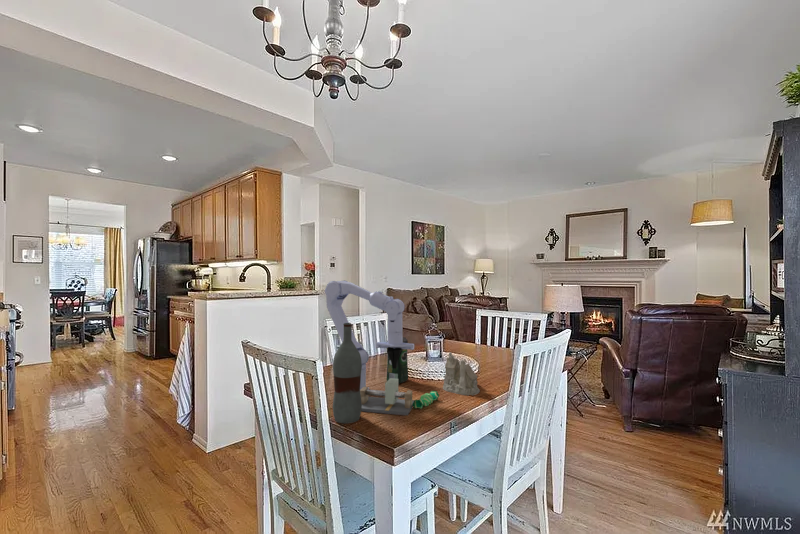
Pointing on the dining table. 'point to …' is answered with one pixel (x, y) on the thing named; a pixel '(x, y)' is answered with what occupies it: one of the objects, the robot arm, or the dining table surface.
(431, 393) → the candy
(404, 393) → the pipe rig
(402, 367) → the coffee jar
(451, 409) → the dining table surface
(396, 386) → the grey square nut
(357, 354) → the bottle
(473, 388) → the jagged grey rock
